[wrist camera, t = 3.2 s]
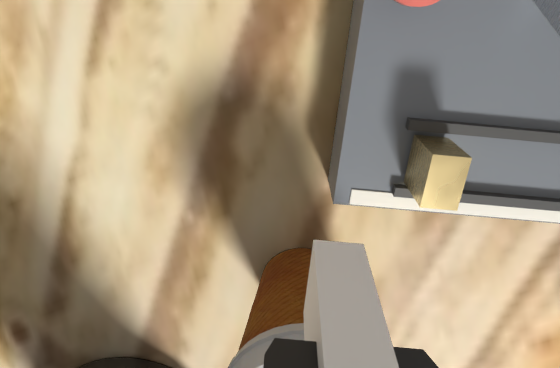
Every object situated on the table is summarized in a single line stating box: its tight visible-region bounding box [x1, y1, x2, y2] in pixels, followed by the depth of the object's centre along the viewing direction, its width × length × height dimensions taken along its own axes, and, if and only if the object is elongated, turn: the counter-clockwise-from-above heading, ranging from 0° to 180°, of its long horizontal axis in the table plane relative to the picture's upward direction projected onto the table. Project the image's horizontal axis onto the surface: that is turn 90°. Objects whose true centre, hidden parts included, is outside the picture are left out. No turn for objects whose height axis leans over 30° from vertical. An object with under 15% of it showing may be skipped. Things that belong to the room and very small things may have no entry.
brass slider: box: [404, 135, 472, 211], centre depth 24 cm, size 2×3×4 cm, turn 175°
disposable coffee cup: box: [228, 248, 312, 368], centre depth 28 cm, size 10×10×12 cm
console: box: [328, 0, 560, 224], centre depth 25 cm, size 20×16×5 cm
